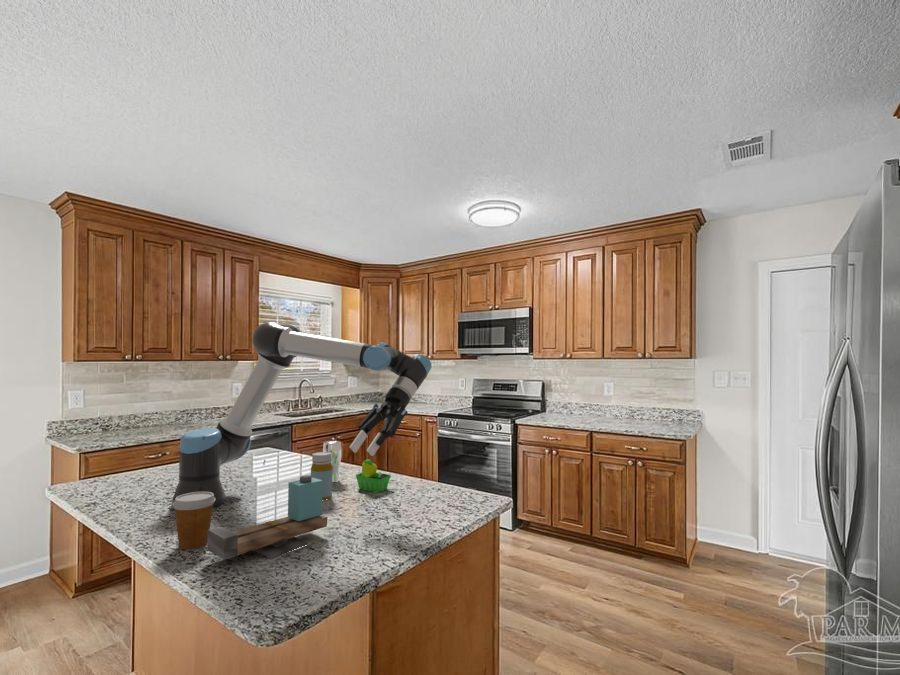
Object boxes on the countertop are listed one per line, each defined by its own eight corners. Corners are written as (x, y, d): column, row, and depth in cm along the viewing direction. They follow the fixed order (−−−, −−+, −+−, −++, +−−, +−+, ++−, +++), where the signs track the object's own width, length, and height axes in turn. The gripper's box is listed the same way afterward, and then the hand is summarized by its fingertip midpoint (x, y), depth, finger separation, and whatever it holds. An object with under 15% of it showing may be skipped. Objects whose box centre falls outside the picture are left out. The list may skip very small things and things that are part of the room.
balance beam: (305, 527, 130) (305, 501, 130) (331, 538, 122) (331, 510, 123) (203, 558, 109) (204, 528, 110) (227, 573, 101) (228, 540, 102)
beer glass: (324, 484, 175) (325, 444, 176) (320, 480, 182) (321, 441, 182) (343, 482, 179) (343, 442, 179) (338, 478, 185) (339, 440, 186)
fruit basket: (392, 489, 170) (392, 457, 170) (375, 494, 162) (376, 462, 163) (368, 484, 176) (368, 454, 176) (351, 490, 168) (352, 458, 169)
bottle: (334, 495, 161) (335, 451, 161) (327, 502, 154) (328, 455, 154) (315, 495, 161) (315, 451, 162) (306, 501, 154) (307, 455, 155)
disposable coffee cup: (182, 538, 122) (184, 491, 122) (220, 537, 123) (221, 490, 123) (163, 553, 112) (165, 502, 113) (204, 551, 113) (206, 501, 114)
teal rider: (310, 518, 127) (311, 472, 128) (321, 522, 124) (322, 475, 125) (287, 525, 122) (288, 477, 123) (298, 529, 119) (299, 480, 119)
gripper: (429, 403, 147) (390, 464, 134) (385, 399, 160) (346, 454, 147) (417, 387, 143) (376, 447, 130) (374, 384, 156) (332, 440, 143)
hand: (360, 451), depth 138 cm, fingers open, 7 cm apart
